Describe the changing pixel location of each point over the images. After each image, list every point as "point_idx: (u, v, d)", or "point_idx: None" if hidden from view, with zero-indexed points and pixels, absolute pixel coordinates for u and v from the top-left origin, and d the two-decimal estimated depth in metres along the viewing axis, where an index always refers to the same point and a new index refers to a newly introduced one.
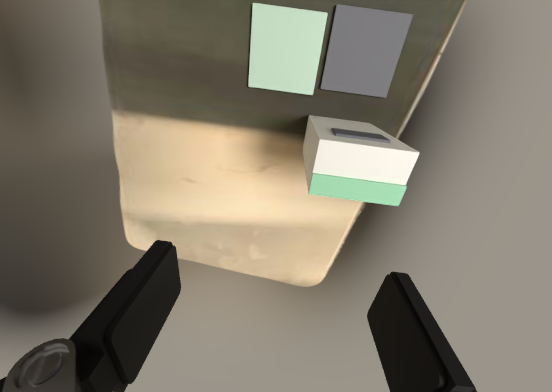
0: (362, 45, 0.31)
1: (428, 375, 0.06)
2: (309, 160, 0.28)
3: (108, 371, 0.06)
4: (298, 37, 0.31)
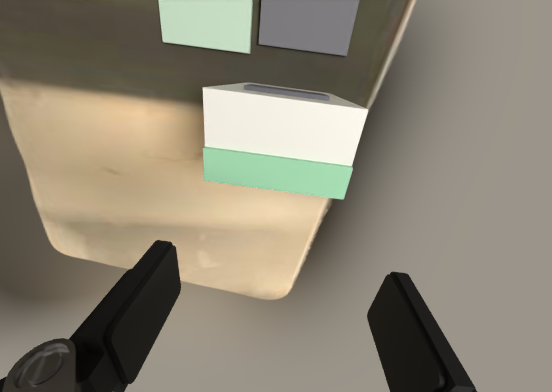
0: None
1: (428, 375, 0.06)
2: None
3: (108, 371, 0.06)
4: None
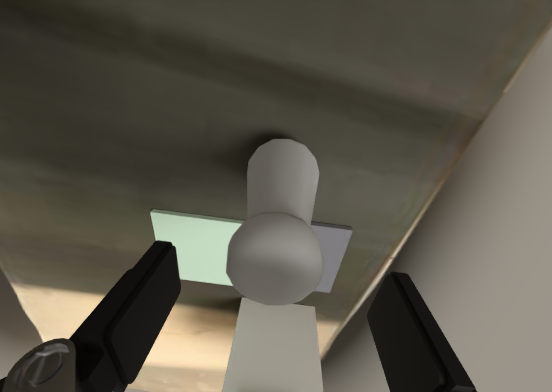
0: None
1: (428, 375, 0.06)
2: None
3: (108, 371, 0.06)
4: (214, 242, 0.25)
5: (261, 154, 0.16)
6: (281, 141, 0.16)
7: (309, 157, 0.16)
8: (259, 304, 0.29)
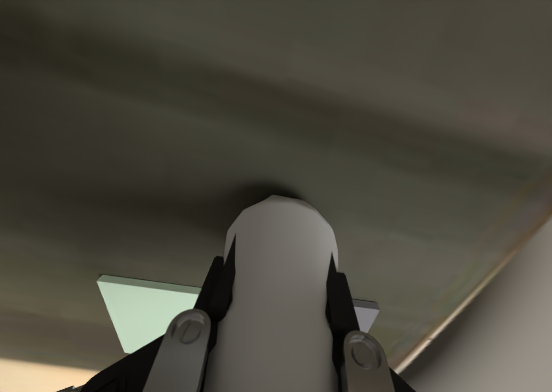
0: None
1: None
2: None
3: None
4: None
5: (245, 232, 0.09)
6: (278, 207, 0.10)
7: (324, 235, 0.10)
8: None
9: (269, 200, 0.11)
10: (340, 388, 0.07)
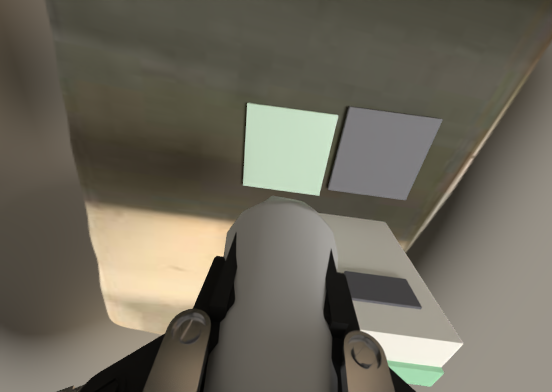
0: (379, 148, 0.25)
1: None
2: None
3: None
4: (302, 139, 0.25)
5: (245, 234, 0.09)
6: (278, 209, 0.10)
7: (324, 236, 0.10)
8: (332, 217, 0.30)
9: (269, 201, 0.11)
10: (340, 388, 0.07)
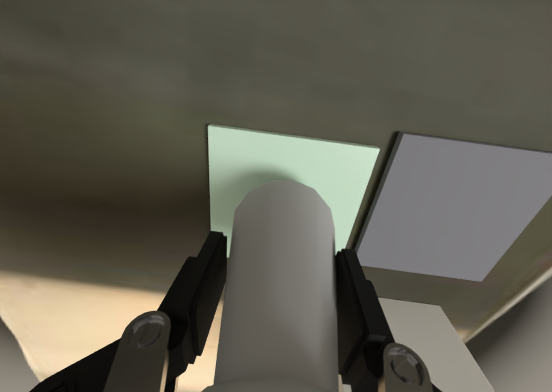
0: (449, 205, 0.14)
1: (353, 330, 0.07)
2: None
3: (189, 341, 0.07)
4: None
5: (252, 204, 0.11)
6: (281, 185, 0.11)
7: (322, 208, 0.11)
8: None
9: (273, 180, 0.12)
10: None
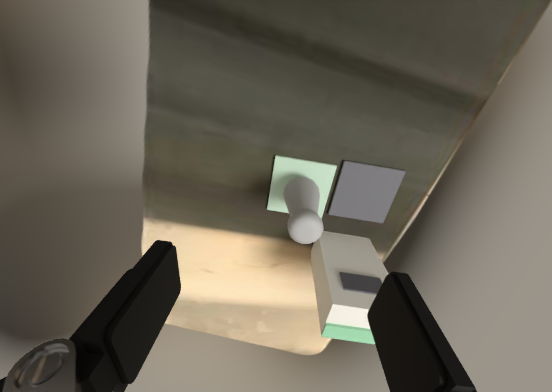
0: (364, 188, 0.37)
1: (428, 375, 0.06)
2: (320, 295, 0.33)
3: (108, 371, 0.06)
4: None
5: (293, 184, 0.33)
6: (302, 178, 0.34)
7: (315, 186, 0.34)
8: (330, 234, 0.41)
9: (299, 177, 0.34)
10: None
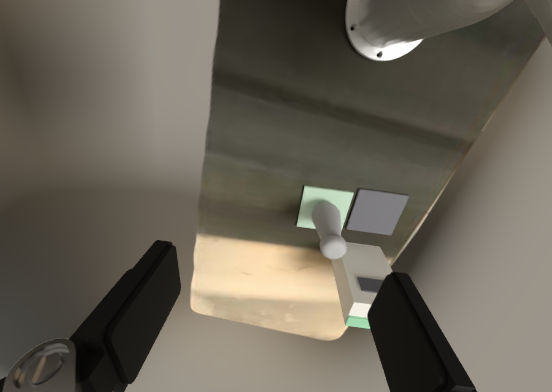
0: (375, 209, 0.46)
1: (428, 375, 0.06)
2: (343, 294, 0.43)
3: (108, 371, 0.06)
4: (333, 203, 0.46)
5: (320, 210, 0.43)
6: (326, 205, 0.43)
7: (337, 211, 0.43)
8: (348, 244, 0.51)
9: (324, 203, 0.44)
10: None
